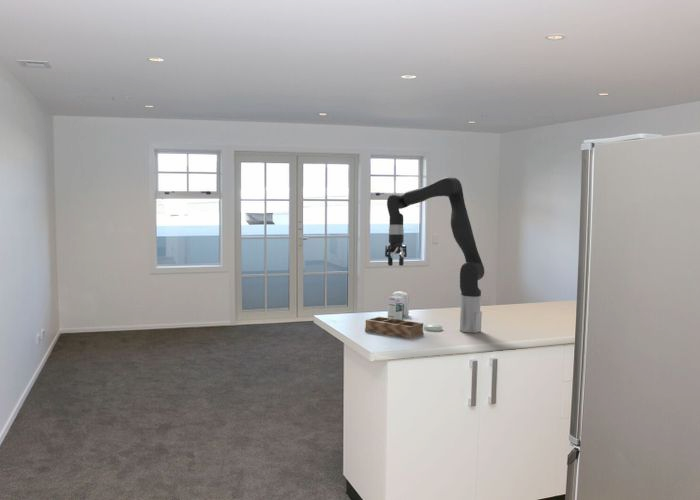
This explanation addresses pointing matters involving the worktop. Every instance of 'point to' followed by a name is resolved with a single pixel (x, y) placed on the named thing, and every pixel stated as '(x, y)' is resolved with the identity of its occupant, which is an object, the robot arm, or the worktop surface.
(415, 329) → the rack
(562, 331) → the worktop surface
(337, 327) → the worktop surface
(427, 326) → the dish
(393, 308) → the syrup box
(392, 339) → the worktop surface
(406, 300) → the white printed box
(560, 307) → the worktop surface
